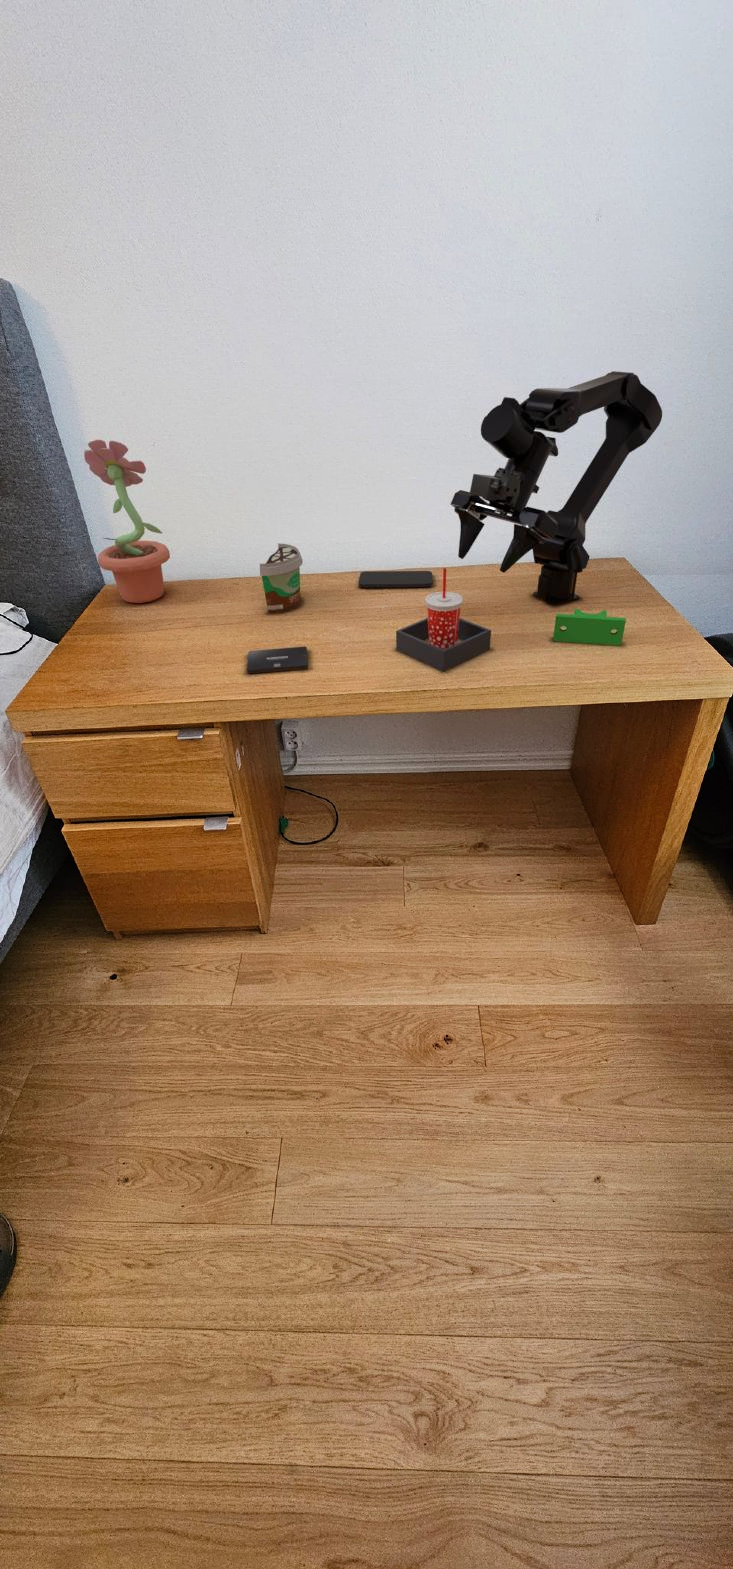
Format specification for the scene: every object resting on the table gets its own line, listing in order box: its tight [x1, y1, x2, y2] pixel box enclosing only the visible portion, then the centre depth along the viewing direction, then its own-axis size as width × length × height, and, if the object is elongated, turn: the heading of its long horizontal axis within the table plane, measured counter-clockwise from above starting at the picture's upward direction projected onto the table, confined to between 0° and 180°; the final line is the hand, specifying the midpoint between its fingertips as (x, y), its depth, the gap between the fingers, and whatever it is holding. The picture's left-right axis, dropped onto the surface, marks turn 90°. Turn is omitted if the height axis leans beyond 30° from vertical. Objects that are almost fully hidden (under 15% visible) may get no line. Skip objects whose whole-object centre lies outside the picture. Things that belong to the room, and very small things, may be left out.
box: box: [395, 617, 492, 672], centre depth 117 cm, size 11×11×4 cm
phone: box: [358, 570, 433, 589], centre depth 143 cm, size 7×1×15 cm
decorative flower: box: [83, 439, 171, 604], centre depth 134 cm, size 15×14×30 cm
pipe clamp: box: [552, 608, 627, 646], centre depth 118 cm, size 11×4×5 cm, turn 75°
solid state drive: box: [246, 646, 309, 674], centre depth 117 cm, size 7×10×1 cm
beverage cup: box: [424, 567, 464, 650], centre depth 114 cm, size 6×6×14 cm
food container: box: [259, 543, 304, 614], centre depth 134 cm, size 12×6×10 cm, turn 168°
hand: (480, 564), depth 116 cm, fingers open, 9 cm apart
